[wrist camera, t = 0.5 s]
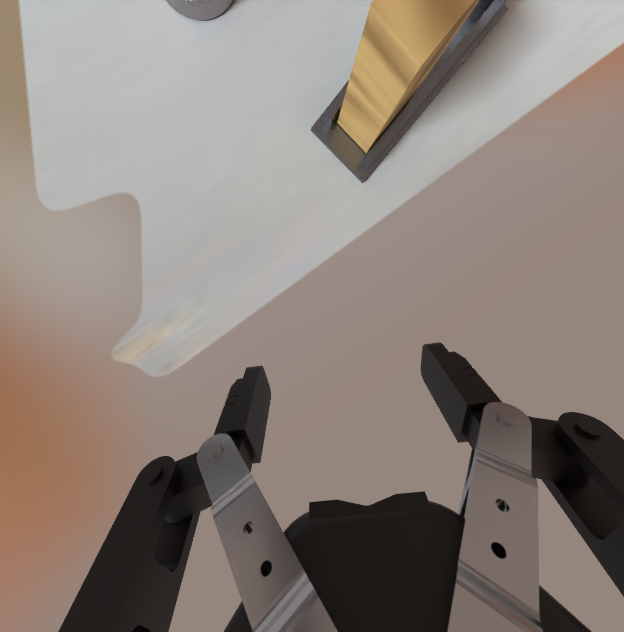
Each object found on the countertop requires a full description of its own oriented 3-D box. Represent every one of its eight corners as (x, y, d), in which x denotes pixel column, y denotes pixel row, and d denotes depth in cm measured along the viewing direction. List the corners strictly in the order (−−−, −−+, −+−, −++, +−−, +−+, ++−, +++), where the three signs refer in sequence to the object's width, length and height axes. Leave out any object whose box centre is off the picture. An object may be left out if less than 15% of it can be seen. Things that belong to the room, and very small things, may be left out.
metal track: (362, 183, 32) (378, 162, 26) (311, 130, 31) (314, 95, 24) (503, 14, 29) (562, -57, 23) (455, -54, 28) (503, -151, 21)
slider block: (366, 153, 31) (421, 65, 17) (337, 122, 30) (371, 3, 16) (410, 99, 30) (506, -40, 16) (382, 65, 29) (458, -111, 15)
